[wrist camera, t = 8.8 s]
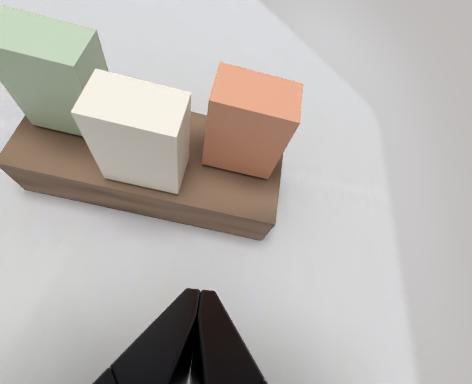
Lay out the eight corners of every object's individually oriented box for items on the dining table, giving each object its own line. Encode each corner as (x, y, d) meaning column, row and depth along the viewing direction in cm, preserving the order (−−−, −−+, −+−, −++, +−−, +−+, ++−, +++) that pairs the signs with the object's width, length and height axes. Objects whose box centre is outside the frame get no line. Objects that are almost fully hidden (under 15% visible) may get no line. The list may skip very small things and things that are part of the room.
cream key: (178, 194, 19) (176, 137, 14) (104, 178, 19) (70, 112, 13) (188, 158, 21) (191, 92, 15) (120, 142, 20) (95, 68, 15)
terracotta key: (267, 179, 21) (299, 122, 15) (201, 163, 21) (208, 100, 15) (272, 146, 23) (303, 83, 17) (210, 131, 22) (219, 61, 16)
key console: (261, 240, 24) (275, 224, 20) (24, 189, 22) (-6, 162, 19) (271, 160, 27) (285, 134, 24) (68, 111, 26) (50, 77, 22)
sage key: (104, 141, 20) (73, 66, 15) (32, 124, 20) (-29, 40, 14) (119, 109, 22) (96, 29, 16) (51, 93, 21) (3, 5, 16)
